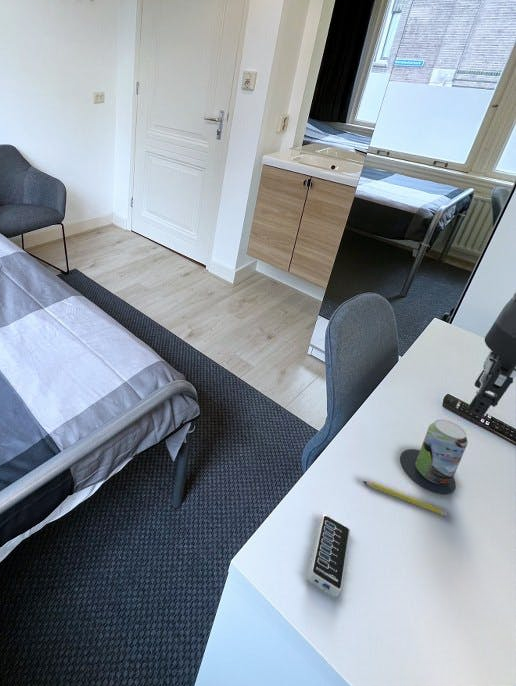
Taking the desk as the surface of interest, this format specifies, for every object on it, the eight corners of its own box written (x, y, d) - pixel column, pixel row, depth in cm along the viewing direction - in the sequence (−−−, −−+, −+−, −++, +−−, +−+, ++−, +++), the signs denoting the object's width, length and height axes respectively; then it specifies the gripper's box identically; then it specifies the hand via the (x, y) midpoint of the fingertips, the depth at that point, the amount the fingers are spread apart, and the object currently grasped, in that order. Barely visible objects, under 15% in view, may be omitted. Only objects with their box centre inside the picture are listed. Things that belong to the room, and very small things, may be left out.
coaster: (458, 472, 85) (459, 471, 85) (450, 505, 79) (450, 504, 79) (406, 441, 91) (406, 440, 91) (394, 469, 84) (395, 468, 84)
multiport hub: (346, 535, 72) (350, 528, 71) (336, 599, 64) (341, 591, 63) (319, 520, 74) (323, 513, 73) (306, 579, 66) (310, 572, 65)
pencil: (361, 480, 82) (362, 477, 81) (443, 512, 78) (446, 509, 77) (361, 484, 81) (363, 481, 81) (445, 517, 77) (447, 514, 76)
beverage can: (436, 493, 80) (466, 453, 75) (400, 460, 86) (426, 420, 80) (456, 482, 83) (486, 442, 77) (420, 451, 89) (446, 411, 83)
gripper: (555, 362, 61) (499, 436, 69) (557, 322, 70) (507, 391, 78) (491, 337, 65) (445, 409, 73) (501, 302, 75) (459, 369, 83)
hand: (477, 400), depth 76 cm, fingers open, 8 cm apart
